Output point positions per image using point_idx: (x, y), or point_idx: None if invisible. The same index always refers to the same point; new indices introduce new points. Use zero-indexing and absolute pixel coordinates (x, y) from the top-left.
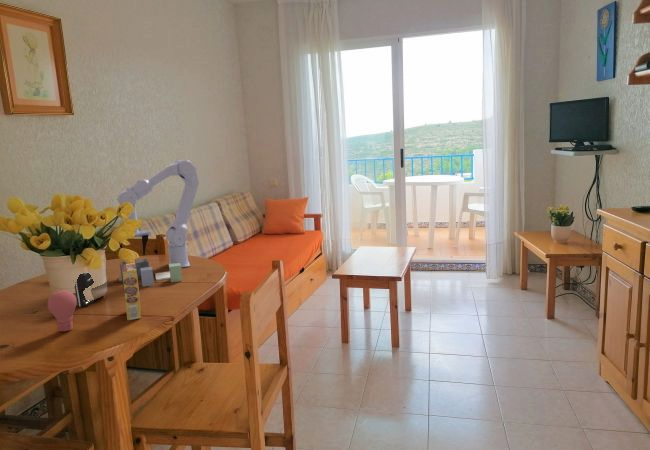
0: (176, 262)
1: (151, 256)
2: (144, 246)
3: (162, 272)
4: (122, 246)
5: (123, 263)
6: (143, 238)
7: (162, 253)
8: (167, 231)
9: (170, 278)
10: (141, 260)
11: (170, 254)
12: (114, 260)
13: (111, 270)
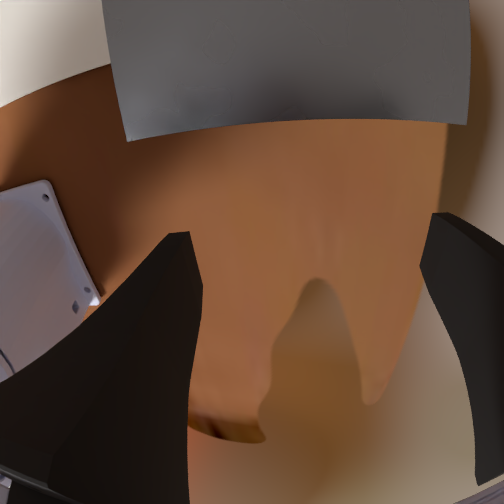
0: (2, 214)
1: (227, 409)
2: (113, 309)
3: (69, 76)
4: (467, 369)
5: (438, 21)
6: (10, 463)
7: (188, 420)
8: (3, 478)
9: None
10: (199, 53)
11: (6, 274)
12: (371, 399)
13: (420, 290)
